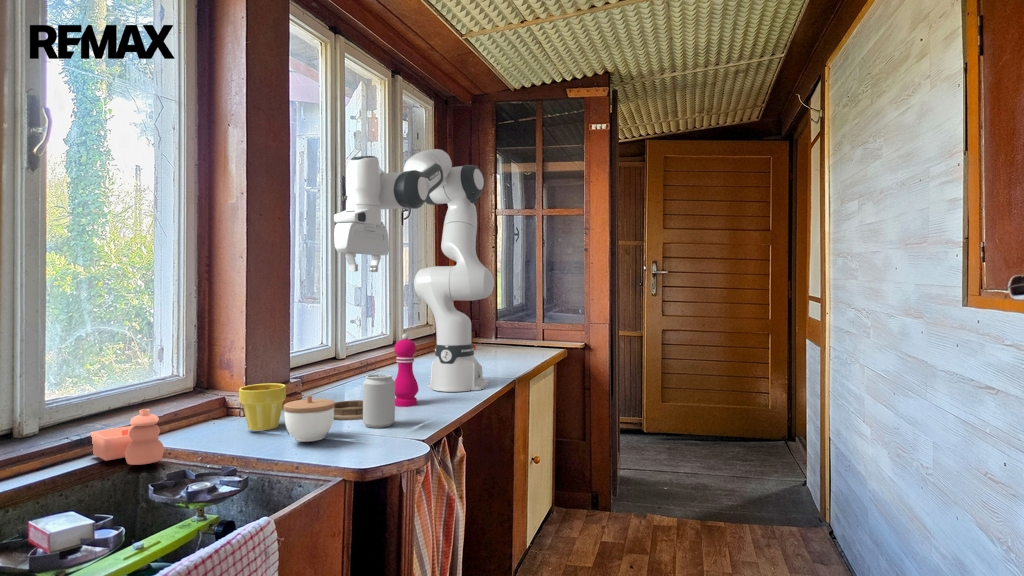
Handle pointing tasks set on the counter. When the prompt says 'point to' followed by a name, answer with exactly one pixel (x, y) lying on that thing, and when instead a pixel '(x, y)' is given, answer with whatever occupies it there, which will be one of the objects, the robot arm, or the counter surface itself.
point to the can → (378, 401)
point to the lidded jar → (309, 418)
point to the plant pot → (262, 405)
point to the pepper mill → (405, 373)
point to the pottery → (131, 441)
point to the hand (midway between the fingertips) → (363, 271)
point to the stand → (348, 410)
